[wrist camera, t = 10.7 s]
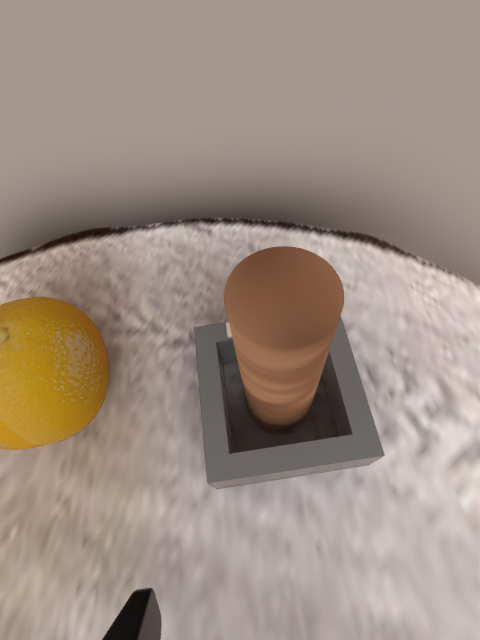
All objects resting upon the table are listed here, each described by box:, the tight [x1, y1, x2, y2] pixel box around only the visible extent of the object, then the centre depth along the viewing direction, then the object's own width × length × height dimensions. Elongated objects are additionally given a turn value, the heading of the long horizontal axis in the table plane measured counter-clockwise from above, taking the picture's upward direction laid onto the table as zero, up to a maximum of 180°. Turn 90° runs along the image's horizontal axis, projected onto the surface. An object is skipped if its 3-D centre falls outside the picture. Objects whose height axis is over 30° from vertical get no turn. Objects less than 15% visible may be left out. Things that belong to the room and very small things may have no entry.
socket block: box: [194, 315, 384, 489], centre depth 22 cm, size 9×9×4 cm
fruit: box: [0, 297, 109, 450], centre depth 22 cm, size 9×8×8 cm
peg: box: [224, 247, 344, 434], centre depth 18 cm, size 4×4×13 cm
